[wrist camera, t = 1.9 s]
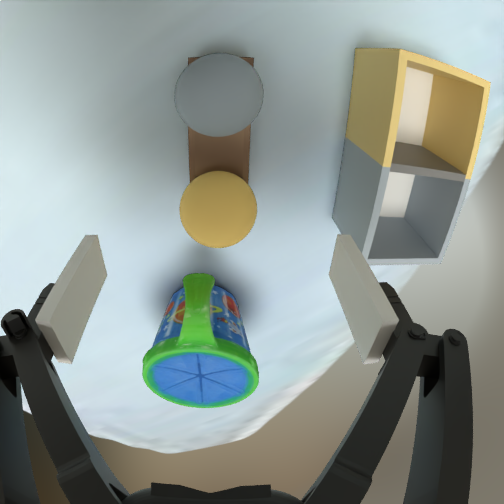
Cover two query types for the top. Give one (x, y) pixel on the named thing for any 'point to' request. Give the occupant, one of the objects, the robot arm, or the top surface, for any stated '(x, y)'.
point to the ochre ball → (218, 209)
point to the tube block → (407, 154)
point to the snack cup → (201, 349)
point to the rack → (219, 149)
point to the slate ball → (219, 95)
